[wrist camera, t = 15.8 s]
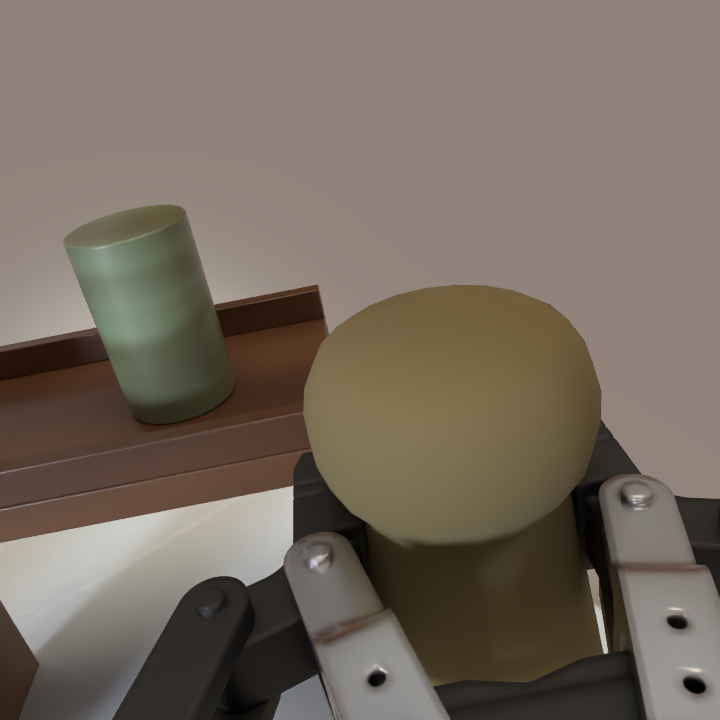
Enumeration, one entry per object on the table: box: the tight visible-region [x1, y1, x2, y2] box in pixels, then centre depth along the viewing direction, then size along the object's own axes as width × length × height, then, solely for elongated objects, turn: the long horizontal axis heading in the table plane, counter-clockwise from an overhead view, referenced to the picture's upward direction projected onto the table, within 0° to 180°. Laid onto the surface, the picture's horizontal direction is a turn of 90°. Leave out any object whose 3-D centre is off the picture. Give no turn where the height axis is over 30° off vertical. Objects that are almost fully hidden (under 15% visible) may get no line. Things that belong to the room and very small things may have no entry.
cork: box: [303, 285, 603, 686], centre depth 14 cm, size 6×6×11 cm
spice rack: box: [0, 205, 329, 720], centre depth 25 cm, size 9×19×22 cm, turn 96°
